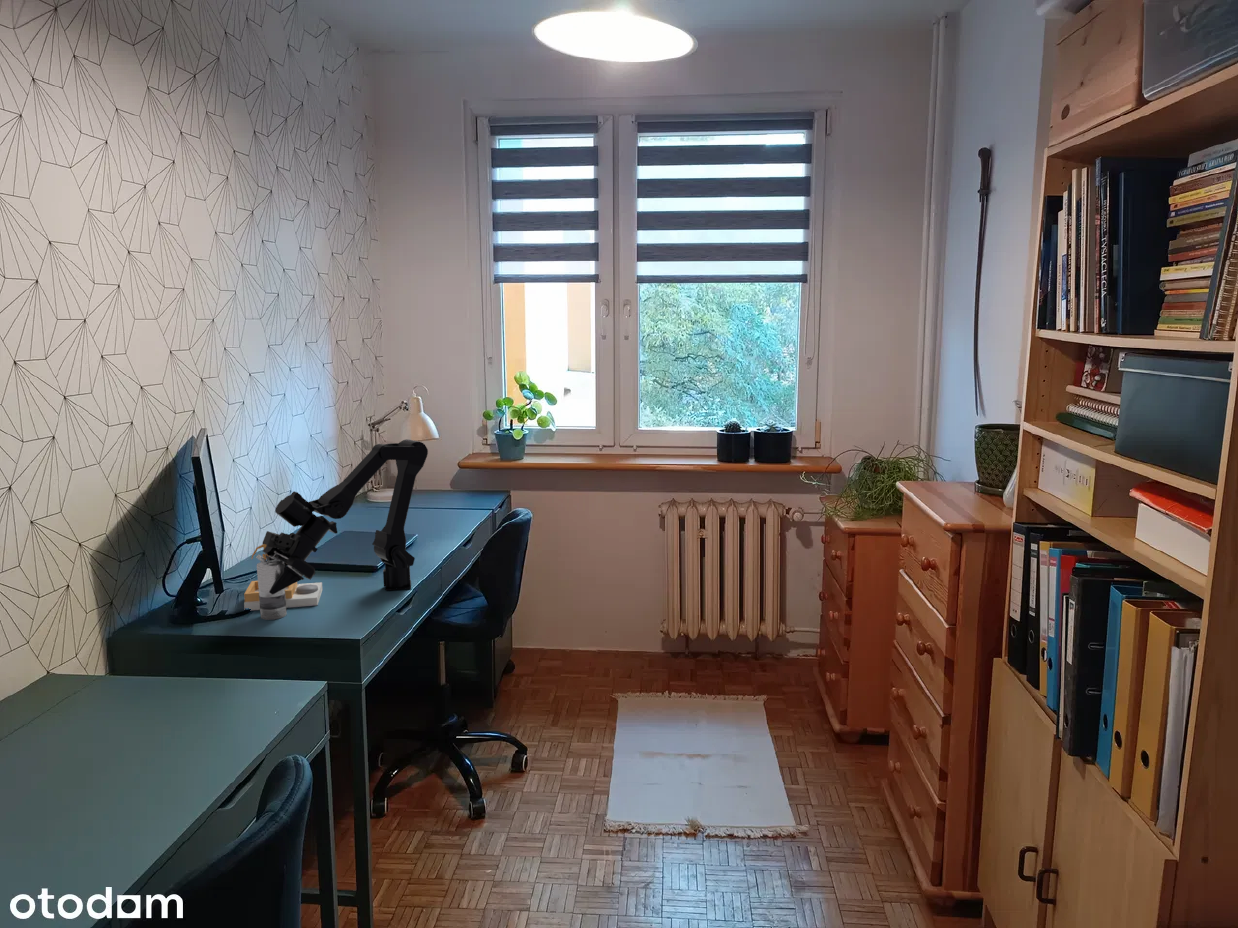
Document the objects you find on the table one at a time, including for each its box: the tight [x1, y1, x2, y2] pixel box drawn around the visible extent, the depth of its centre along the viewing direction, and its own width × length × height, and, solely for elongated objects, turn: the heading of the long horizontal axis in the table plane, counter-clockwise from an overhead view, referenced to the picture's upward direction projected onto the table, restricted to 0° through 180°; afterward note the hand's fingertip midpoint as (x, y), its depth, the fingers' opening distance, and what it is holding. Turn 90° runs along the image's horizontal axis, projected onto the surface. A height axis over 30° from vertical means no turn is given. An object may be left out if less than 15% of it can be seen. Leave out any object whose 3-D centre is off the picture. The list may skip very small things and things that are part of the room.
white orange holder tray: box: [243, 580, 323, 611], centre depth 225 cm, size 17×13×4 cm
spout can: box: [255, 553, 287, 621], centre depth 213 cm, size 6×6×16 cm
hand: (265, 590), depth 212 cm, fingers closed on spout can, 6 cm apart
